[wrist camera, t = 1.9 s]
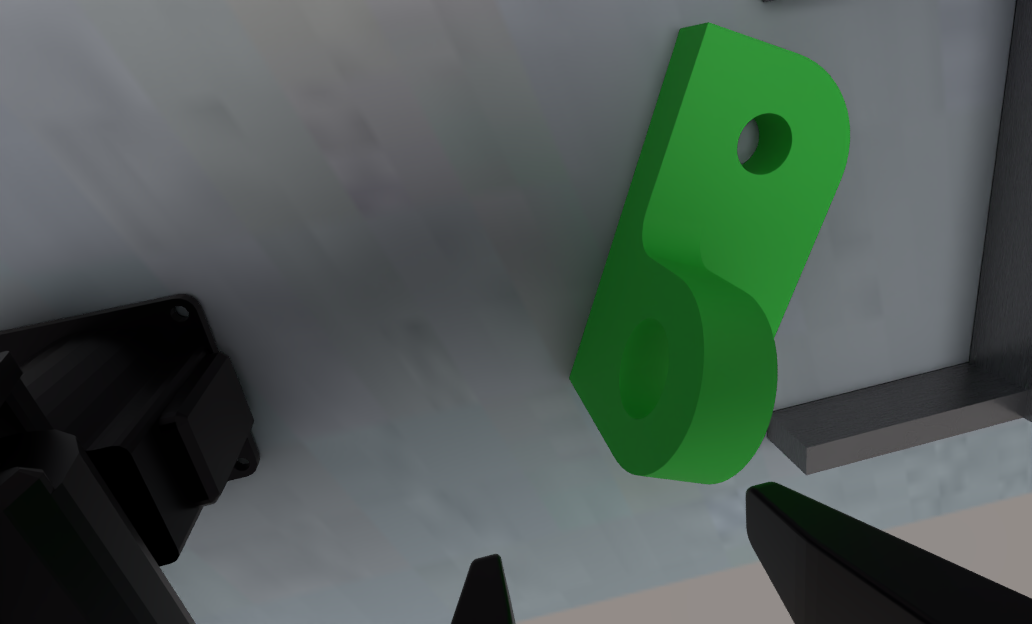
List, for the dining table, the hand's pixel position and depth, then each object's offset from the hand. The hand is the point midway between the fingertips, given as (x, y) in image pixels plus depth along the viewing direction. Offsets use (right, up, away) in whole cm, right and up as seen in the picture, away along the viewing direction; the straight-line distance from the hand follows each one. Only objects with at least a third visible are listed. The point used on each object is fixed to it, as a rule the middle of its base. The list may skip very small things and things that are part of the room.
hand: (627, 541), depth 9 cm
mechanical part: (+5, +6, +12) cm, 14 cm away
